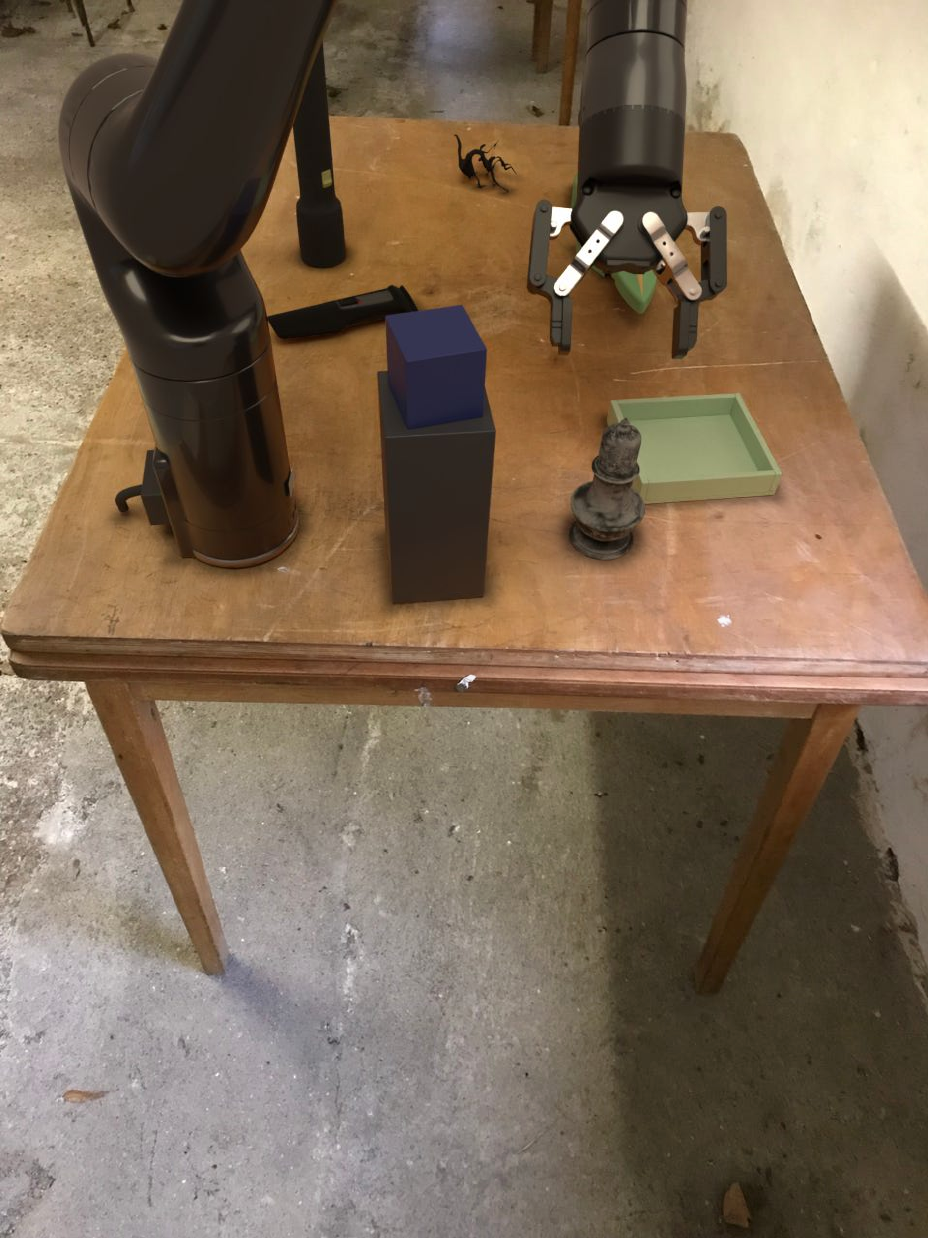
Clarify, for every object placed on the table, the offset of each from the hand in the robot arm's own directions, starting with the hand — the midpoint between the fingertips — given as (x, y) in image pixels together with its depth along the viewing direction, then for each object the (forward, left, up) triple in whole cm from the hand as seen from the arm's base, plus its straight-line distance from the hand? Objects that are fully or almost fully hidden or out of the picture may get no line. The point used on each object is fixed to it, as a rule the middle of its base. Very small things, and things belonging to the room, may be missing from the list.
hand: (622, 355), depth 66 cm
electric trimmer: (-20, +27, -14) cm, 36 cm away
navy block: (-15, -7, +2) cm, 17 cm away
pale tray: (+9, +4, -14) cm, 17 cm away
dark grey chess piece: (-1, -5, -14) cm, 15 cm away
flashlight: (-22, +41, -14) cm, 48 cm away
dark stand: (-15, -7, -14) cm, 21 cm away
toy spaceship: (+12, +39, -14) cm, 43 cm away
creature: (-1, +58, -14) cm, 59 cm away
